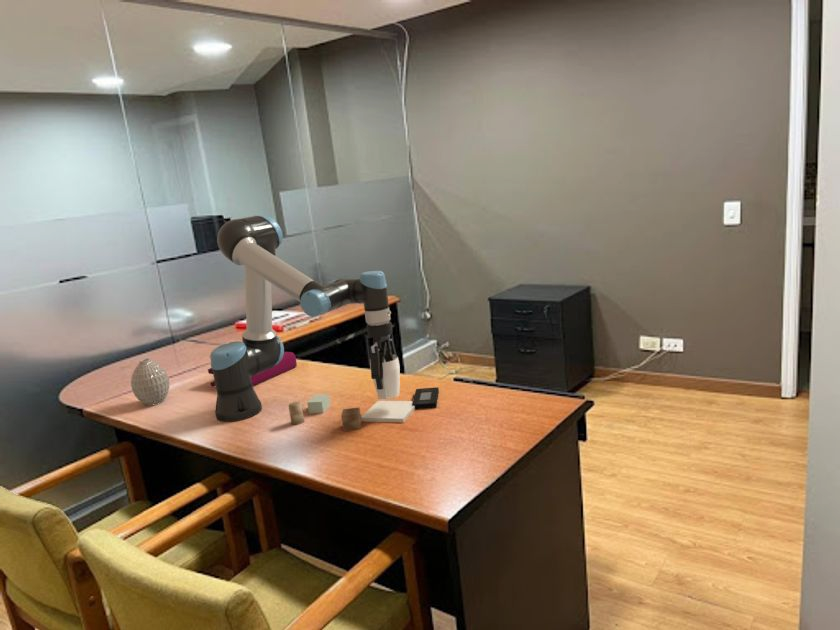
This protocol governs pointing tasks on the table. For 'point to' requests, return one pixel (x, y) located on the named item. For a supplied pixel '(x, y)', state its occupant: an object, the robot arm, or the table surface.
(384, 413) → the tile
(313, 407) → the sage block
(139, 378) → the vase
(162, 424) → the table surface
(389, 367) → the cup
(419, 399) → the vhs tape
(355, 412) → the walnut cube
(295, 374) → the table surface
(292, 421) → the oak cylinder
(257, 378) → the book
